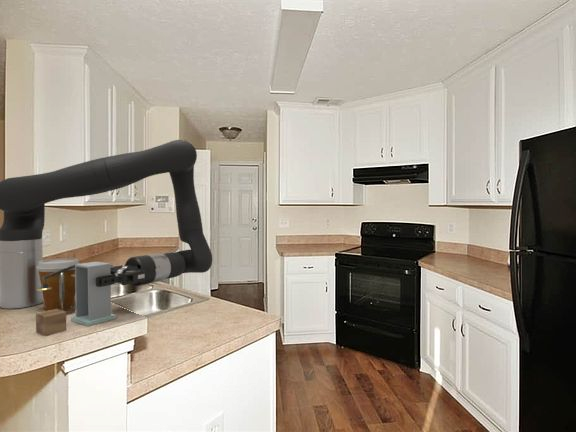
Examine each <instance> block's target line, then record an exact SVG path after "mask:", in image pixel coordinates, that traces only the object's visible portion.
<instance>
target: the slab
mask: <svg viewBox="0 0 576 432" xmlns="http://www.w3.org/2000/svg"><path fill="white" fill-rule="evenodd" d="M115 319H117V314H114V313H111V315H110V316H107V317H103V318H99V319H96V320H92V321H88V315H84V316H80V317H76V315H74V316H71V317H70V321H71V322H73V323H77V324H80V325H82V326H83V325H84V326H87V327H90V326H93V325H98V324H100V323H101V324H102V323H104V322H107V321H112V320H115Z"/></svg>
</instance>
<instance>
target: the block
mask: <svg viewBox="0 0 576 432" xmlns="http://www.w3.org/2000/svg"><path fill="white" fill-rule="evenodd" d="M65 331H67V315H66V312H65V311H62V310H59V309H54V310H46V311H45V310H44V311H40V312H36V313H35V332H36V333H37V334H38V335H39V334H40V335H41V336H44V337H46V336H47V337H48V336H51V335H54V334H58V333H62V332H65Z"/></svg>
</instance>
